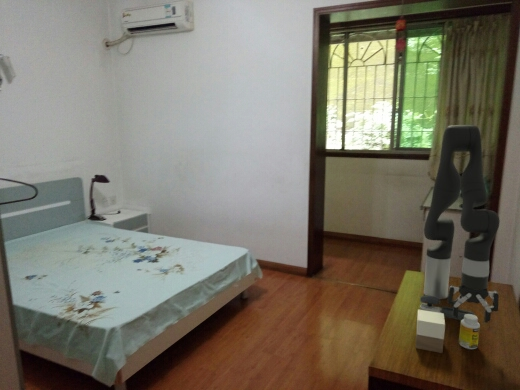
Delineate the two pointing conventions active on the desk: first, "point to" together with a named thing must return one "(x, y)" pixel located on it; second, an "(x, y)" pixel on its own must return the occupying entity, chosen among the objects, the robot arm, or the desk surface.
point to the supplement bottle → (469, 332)
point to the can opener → (446, 310)
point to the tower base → (429, 343)
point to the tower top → (430, 324)
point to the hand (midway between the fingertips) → (470, 319)
